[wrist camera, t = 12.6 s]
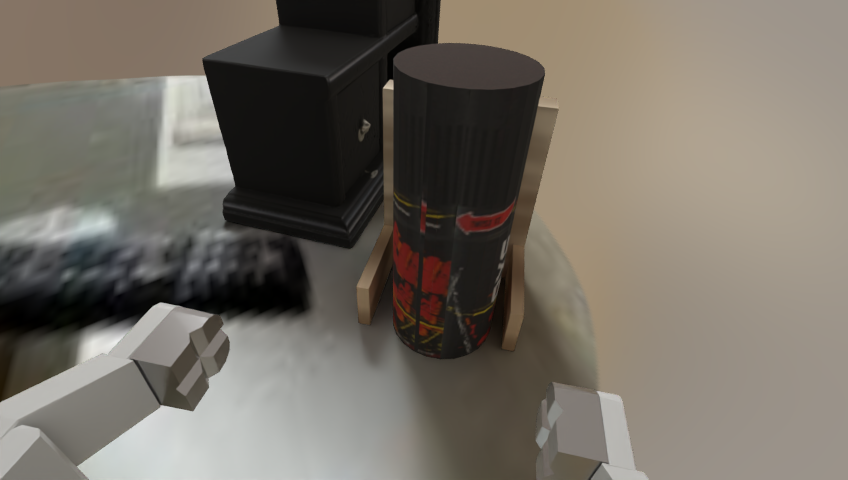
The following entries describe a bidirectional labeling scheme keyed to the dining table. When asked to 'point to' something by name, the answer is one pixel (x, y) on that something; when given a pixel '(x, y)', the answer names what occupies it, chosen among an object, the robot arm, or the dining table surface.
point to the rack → (514, 260)
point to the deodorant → (456, 187)
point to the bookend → (313, 113)
